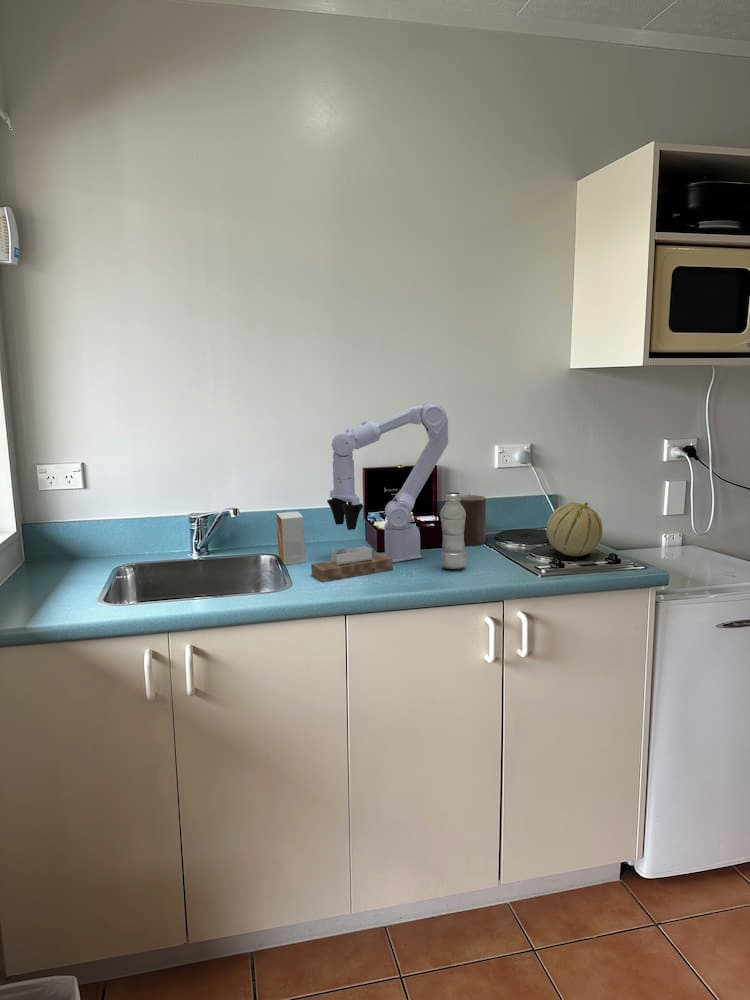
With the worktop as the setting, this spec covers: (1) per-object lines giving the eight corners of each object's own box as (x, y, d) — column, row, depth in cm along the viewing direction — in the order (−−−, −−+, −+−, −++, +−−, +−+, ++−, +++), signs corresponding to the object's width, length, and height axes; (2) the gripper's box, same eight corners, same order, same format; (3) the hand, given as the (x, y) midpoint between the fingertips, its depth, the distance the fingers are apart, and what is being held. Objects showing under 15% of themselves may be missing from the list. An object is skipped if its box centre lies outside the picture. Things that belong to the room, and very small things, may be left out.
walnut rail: (380, 563, 190) (379, 553, 189) (392, 569, 184) (392, 558, 183) (311, 575, 181) (311, 564, 180) (322, 582, 175) (322, 570, 174)
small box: (278, 558, 198) (276, 512, 196) (300, 555, 200) (298, 511, 198) (283, 565, 191) (280, 518, 188) (306, 562, 193) (304, 516, 190)
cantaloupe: (541, 548, 201) (542, 497, 198) (593, 548, 200) (595, 496, 198) (552, 563, 186) (553, 507, 184) (608, 562, 186) (610, 506, 183)
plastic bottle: (465, 572, 180) (465, 495, 176) (439, 571, 181) (438, 495, 177) (467, 565, 186) (467, 491, 182) (442, 564, 187) (441, 490, 184)
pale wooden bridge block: (366, 568, 186) (365, 546, 185) (372, 571, 183) (371, 549, 182) (331, 573, 181) (330, 551, 180) (337, 577, 178) (336, 554, 177)
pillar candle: (470, 547, 204) (471, 497, 201) (446, 542, 211) (446, 492, 209) (492, 542, 210) (493, 493, 208) (467, 536, 218) (468, 489, 215)
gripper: (319, 475, 195) (321, 523, 197) (341, 482, 182) (343, 533, 185) (342, 473, 198) (344, 520, 200) (366, 480, 185) (367, 530, 188)
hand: (345, 526), depth 193 cm, fingers open, 7 cm apart
